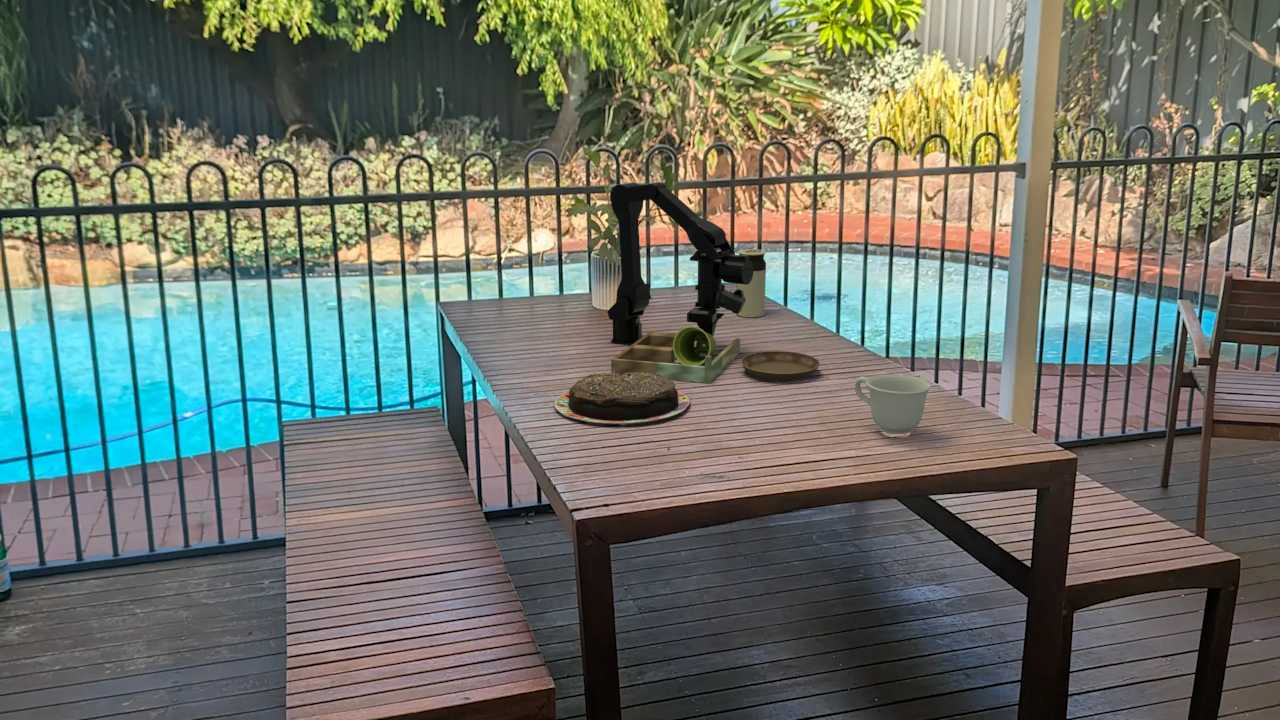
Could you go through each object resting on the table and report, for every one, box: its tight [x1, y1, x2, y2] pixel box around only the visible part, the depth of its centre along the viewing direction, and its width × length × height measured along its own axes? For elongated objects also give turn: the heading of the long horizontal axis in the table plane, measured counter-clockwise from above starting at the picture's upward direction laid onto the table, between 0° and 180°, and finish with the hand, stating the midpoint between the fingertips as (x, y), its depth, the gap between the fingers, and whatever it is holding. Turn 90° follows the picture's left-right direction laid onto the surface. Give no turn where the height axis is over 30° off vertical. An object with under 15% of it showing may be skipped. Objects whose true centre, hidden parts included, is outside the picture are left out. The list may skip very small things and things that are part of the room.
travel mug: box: [736, 248, 767, 319], centre depth 301 cm, size 8×8×18 cm
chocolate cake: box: [553, 372, 691, 428], centre depth 222 cm, size 28×28×7 cm
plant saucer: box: [740, 350, 820, 383], centre depth 246 cm, size 18×18×3 cm
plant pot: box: [673, 326, 717, 366], centre depth 255 cm, size 9×9×9 cm
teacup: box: [854, 373, 933, 434], centre depth 205 cm, size 12×15×10 cm
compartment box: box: [610, 331, 741, 384], centre depth 254 cm, size 23×28×6 cm
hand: (708, 344), depth 262 cm, fingers closed
